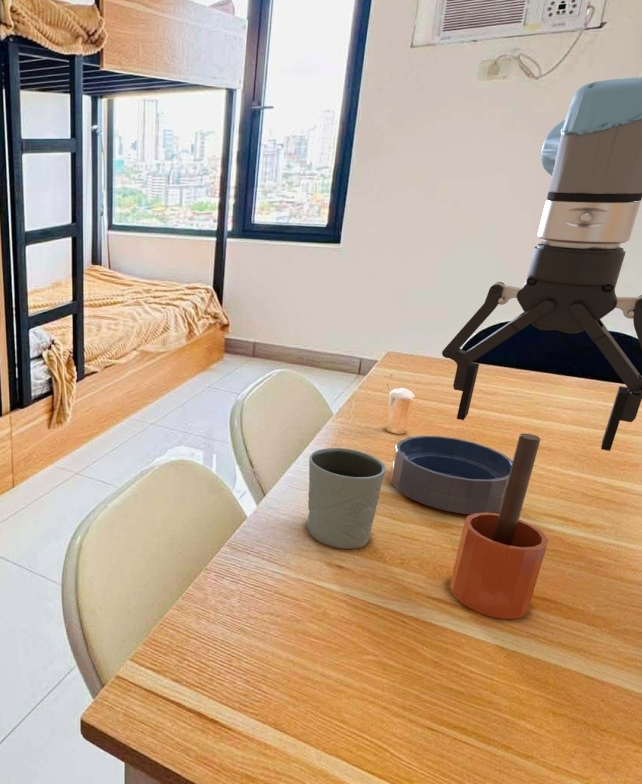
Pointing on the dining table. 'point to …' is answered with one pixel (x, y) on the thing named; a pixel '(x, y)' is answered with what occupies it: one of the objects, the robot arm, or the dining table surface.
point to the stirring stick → (516, 488)
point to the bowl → (451, 474)
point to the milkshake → (399, 409)
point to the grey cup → (343, 496)
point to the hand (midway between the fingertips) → (529, 430)
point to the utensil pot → (497, 567)
